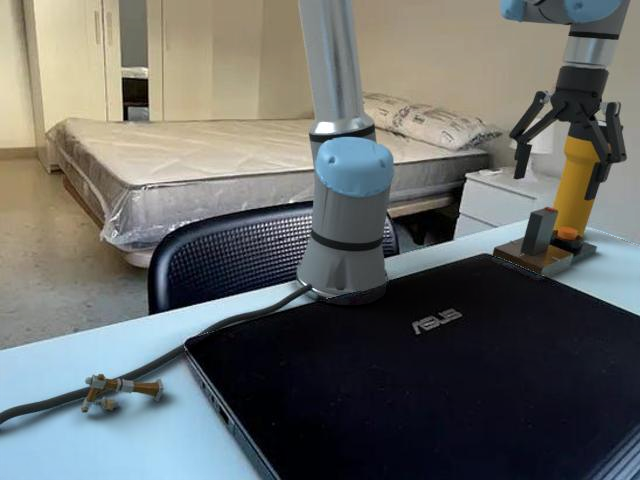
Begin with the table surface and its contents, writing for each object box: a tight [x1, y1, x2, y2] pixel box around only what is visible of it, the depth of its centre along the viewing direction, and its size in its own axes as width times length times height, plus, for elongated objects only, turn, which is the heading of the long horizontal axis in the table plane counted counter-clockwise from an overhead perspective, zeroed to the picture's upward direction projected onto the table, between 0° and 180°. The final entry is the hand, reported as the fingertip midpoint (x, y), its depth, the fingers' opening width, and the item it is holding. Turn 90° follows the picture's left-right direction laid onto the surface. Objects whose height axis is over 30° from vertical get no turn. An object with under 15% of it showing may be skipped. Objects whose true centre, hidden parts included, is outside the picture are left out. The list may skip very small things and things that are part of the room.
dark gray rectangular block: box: [521, 206, 559, 256], centre depth 95 cm, size 6×2×8 cm, turn 129°
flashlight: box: [552, 119, 624, 238], centre depth 111 cm, size 10×26×10 cm
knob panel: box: [492, 236, 574, 279], centre depth 97 cm, size 12×10×3 cm
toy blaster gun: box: [81, 373, 165, 414], centre depth 53 cm, size 2×8×4 cm, turn 118°
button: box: [557, 227, 578, 240], centre depth 104 cm, size 4×4×2 cm
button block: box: [549, 230, 598, 266], centre depth 105 cm, size 11×9×4 cm
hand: (552, 188), depth 92 cm, fingers open, 13 cm apart
